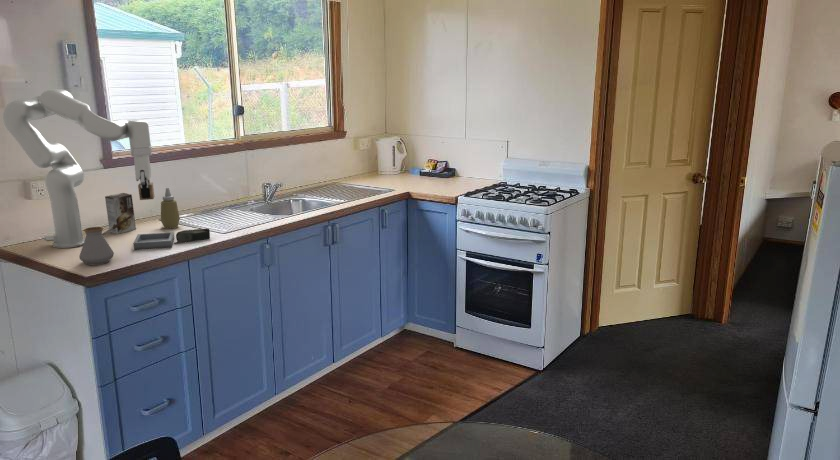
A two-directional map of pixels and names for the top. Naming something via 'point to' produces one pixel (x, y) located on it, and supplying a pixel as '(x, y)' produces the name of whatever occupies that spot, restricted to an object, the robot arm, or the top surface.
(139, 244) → the tray
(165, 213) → the squeeze bottle
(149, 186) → the walnut block
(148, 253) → the top surface
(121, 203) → the coffee box
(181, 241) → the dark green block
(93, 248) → the coffee pot
